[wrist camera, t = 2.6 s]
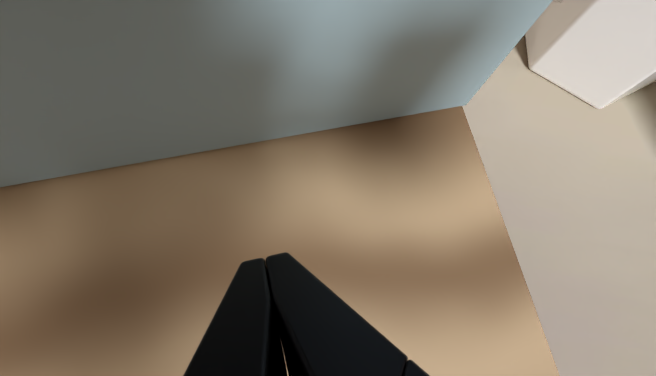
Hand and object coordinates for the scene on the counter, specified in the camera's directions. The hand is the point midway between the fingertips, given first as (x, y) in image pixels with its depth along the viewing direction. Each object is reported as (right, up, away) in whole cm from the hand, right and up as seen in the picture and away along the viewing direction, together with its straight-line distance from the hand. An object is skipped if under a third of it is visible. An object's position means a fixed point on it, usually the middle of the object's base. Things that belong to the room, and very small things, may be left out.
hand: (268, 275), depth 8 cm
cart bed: (-1, -3, +12) cm, 12 cm away
